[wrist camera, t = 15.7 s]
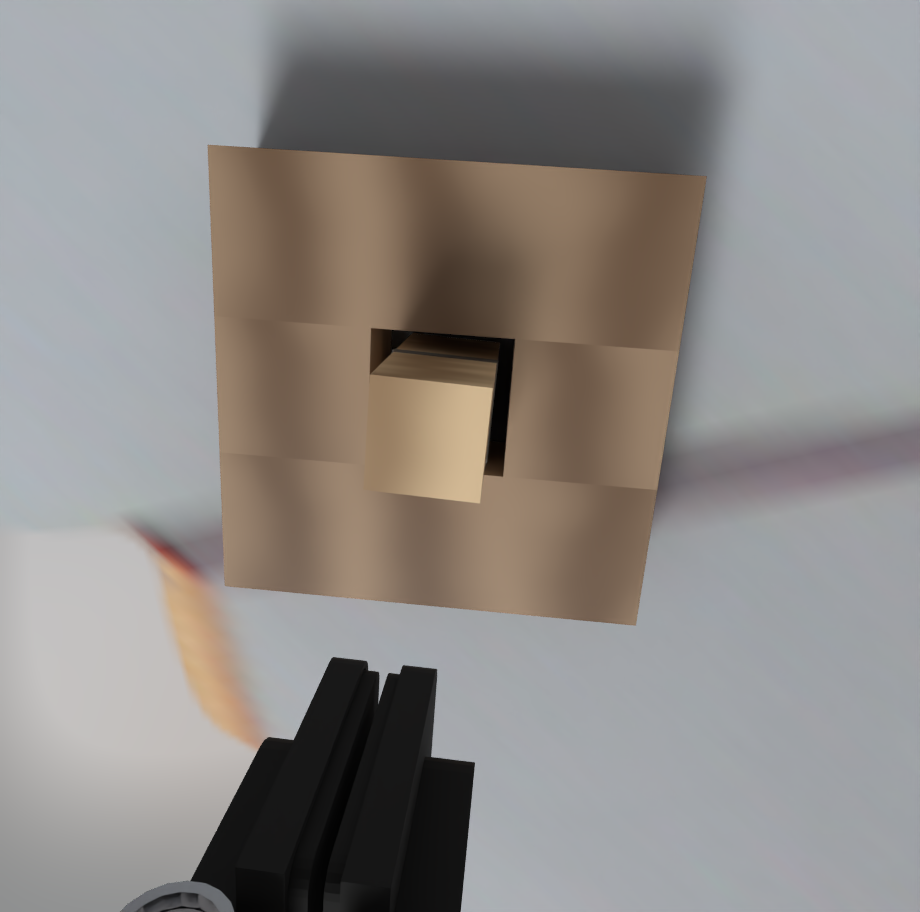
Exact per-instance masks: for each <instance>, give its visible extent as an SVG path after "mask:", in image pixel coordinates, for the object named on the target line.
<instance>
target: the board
mask: <svg viewBox="0 0 920 912" xmlns="http://www.w3.org/2000/svg"><path fill="white" fill-rule="evenodd" d="M208 164H209V190H210V216H211V242H212V267H213V293H214V319H215V345H216V370H217V396H218V422H219V448H220V473H221V499H222V525H223V551H224V576H225V586H230V587H240V588H251V589H261V590H271V591H282V592H292V593H303V594H313V595H323V596H334V597H344V598H355V599H365V600H375V601H386V602H396V603H407V604H417V605H427V606H438V607H448V608H459V609H469V610H479V611H490V612H500V613H511V614H521V615H531V616H542V617H552V618H563V619H573V620H583V621H594V622H604V623H615V624H625V625H635V626H636V621H637V614H638V608H639V602H640V595H641V589H642V583H643V576H644V570H645V564H646V557H647V551H648V545H649V538H650V532H651V526H652V519H653V513H654V507H655V500H656V494H657V488H658V481H659V475H660V469H661V462H662V456H663V450H664V443H665V437H666V431H667V425H668V418H669V412H670V406H671V399H672V393H673V387H674V380H675V374H676V368H677V361H678V355H679V349H680V342H681V336H682V330H683V323H684V317H685V311H686V304H687V298H688V292H689V285H690V279H691V273H692V266H693V260H694V254H695V247H696V241H697V235H698V228H699V222H700V216H701V209H702V203H703V197H704V190H705V184H706V178H707V176H694V175H678V174H662V173H646V172H631V171H615V170H599V169H583V168H567V167H551V166H535V165H520V164H504V163H488V162H472V161H456V160H440V159H424V158H409V157H393V156H377V155H361V154H345V153H329V152H313V151H297V150H282V149H266V148H250V147H234V146H218V145H208ZM392 330H403V331H416V332H430V333H443V334H456V335H469V336H482V337H495V338H509V339H514V347H513V359H512V370H511V382H510V393H509V404H508V416H507V427H506V439H505V442H495V441H489V448H488V457H487V463H485V470H484V477H483V485H482V492H481V499H480V503H471V502H463V501H454V500H446V499H437V498H429V497H420V496H412V495H403V494H395V493H386V492H378V491H369V490H363V486H364V468H365V451H366V434H367V417H368V399H369V382H370V374H371V373H372V372H373V371H374V370H375V369H376V368H377V367H378V366H379V365H380V364H381V363H382V362H383V361H384V360H385V359H386V358H387V357H389V356H390V355H391V335H392Z"/></svg>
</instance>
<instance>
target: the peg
mask: <svg viewBox="0 0 920 912" xmlns="http://www.w3.org/2000/svg"><path fill="white" fill-rule="evenodd" d="M499 347H500V342H493V341H484V340H475V339H465V338H456V337H447V336H437V335H428V334H419V333H412V334H411V335H410V336H409V337H408V338H407V339H406V340H405V341H404V342H403V343H402V344H401V345H400V346H399V347H398V348H397V349H393V350H392V354H391V355H390V356H389V357H387V358H386V359H385V360H384V361H383V362H382V363H381V364H380V365H379V366H378V367H377V368H376V369H375V370H374V371H373V372H372V373H371V374H370V382H369V399H368V417H367V434H366V451H365V468H364V486H363V490H369V491H378V492H386V493H395V494H403V495H412V496H420V497H429V498H437V499H446V500H454V501H463V502H471V503H480V499H481V492H482V485H483V477H484V470H485V463H487V457H488V448H489V439H490V431H491V422H492V413H493V404H494V395H495V386H496V378H497V369H498V356H499Z"/></svg>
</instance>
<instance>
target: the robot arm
mask: <svg viewBox="0 0 920 912" xmlns="http://www.w3.org/2000/svg"><path fill="white" fill-rule="evenodd" d="M436 683H437V669H431V668H422V667H414V666H405V665H403V667H402V669H401V673H400V674H392V673H389V674H388V676H387V679H386V682H385V685H384V688H383V691H382V695H381V698H380V701H379V704H378V696H379V672H375V671H368V663H367V661H362V660H353V659H344V658H336V657H333V658H332V659H331V661H330V662H329V664H328V667H327V669H326V671H325V673H324V675H323V678H322V680H321V682H320V684H319V686H318V688H317V691H316V693H315V695H314V697H313V699H312V701H311V704H310V706H309V708H308V710H307V712H306V715H305V717H304V719H303V721H302V723H301V725H300V728H299V730H298V732H297V734H296V736H295V738H294V740H288V739H280V738H271V737H268V738H267V739H265V740H264V742H263V743H262V745H261V746H260V748H259V750H258V752H257V754H256V756H255V758H254V760H253V762H252V764H251V765H250V768H249V769H248V771H247V773H246V775H245V777H244V779H243V781H242V783H241V785H240V786H239V789H238V790H237V792H236V794H235V796H234V798H233V800H232V802H231V804H230V806H229V808H228V810H227V812H226V813H225V815H224V817H223V819H222V821H221V823H220V825H219V827H218V829H217V831H216V833H215V835H214V837H213V838H212V841H211V842H210V844H209V846H208V848H207V850H206V852H205V854H204V856H203V858H202V860H201V862H200V864H199V865H198V867H197V870H196V871H195V873H194V875H193V877H192V879H191V881H183V882H175V883H167V884H165V885H162V886H159V887H157V888H154V889H151V890H149V891H147V892H145V893H144V894H142V895H140V896H139V897H138V898H136V899H134V900H133V901H131V902H130V903H128V904H127V905H126V906H125V907H124V908H123V909H122V910H121V911H120V912H461V902H462V891H463V881H464V871H465V860H466V850H467V839H468V829H469V819H470V808H471V798H472V788H473V777H474V767H475V763H474V762H466V761H458V760H450V759H442V758H434V757H431V751H432V737H433V724H434V710H435V697H436Z"/></svg>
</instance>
